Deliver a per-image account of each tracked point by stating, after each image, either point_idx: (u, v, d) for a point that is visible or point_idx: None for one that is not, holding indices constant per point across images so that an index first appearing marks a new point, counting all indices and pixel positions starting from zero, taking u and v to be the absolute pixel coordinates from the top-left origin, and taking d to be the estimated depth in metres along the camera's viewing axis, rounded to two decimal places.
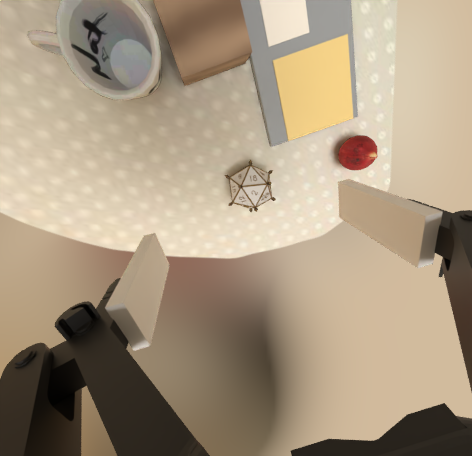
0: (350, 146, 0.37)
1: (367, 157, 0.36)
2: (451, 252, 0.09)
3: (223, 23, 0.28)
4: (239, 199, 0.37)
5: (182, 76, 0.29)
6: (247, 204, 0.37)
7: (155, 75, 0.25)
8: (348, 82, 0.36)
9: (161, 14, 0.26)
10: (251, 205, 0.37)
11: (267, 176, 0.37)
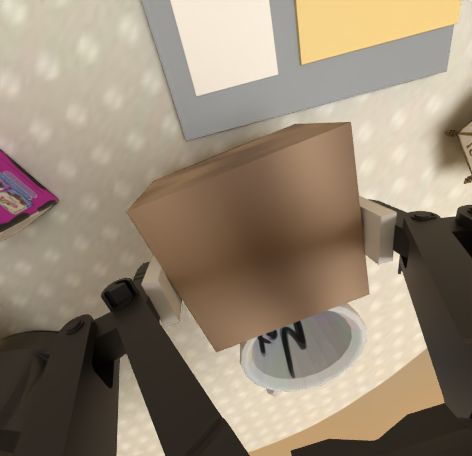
0: None
1: None
2: (407, 250, 0.10)
3: (279, 213, 0.10)
4: None
5: (367, 293, 0.13)
6: None
7: (350, 310, 0.16)
8: None
9: (266, 328, 0.13)
10: None
11: None
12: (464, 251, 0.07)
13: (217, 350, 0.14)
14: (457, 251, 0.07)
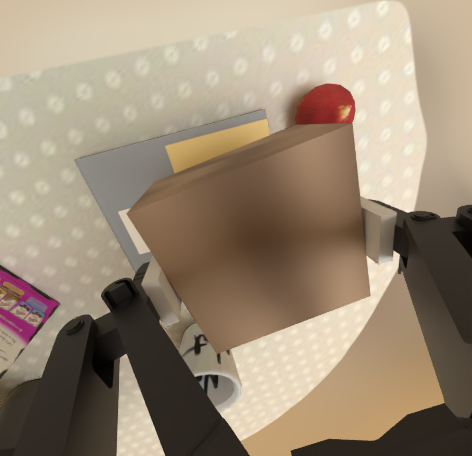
0: None
1: (344, 120, 0.21)
2: (407, 250, 0.10)
3: (280, 214, 0.10)
4: None
5: (368, 294, 0.13)
6: None
7: (225, 373, 0.29)
8: (220, 135, 0.25)
9: (267, 330, 0.13)
10: None
11: None
12: (464, 251, 0.07)
13: (217, 352, 0.13)
14: (457, 251, 0.07)
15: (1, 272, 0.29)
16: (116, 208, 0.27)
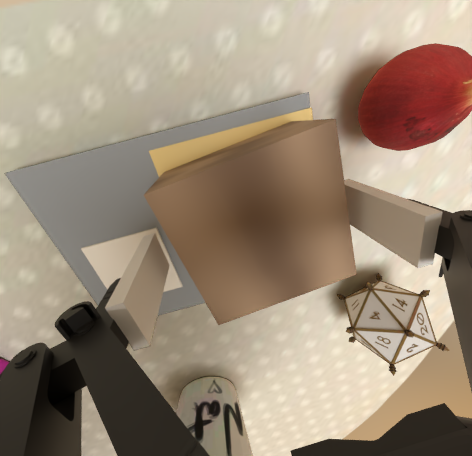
0: (394, 141, 0.14)
1: (469, 108, 0.11)
2: (451, 252, 0.09)
3: (274, 198, 0.12)
4: None
5: (354, 273, 0.15)
6: None
7: None
8: (236, 134, 0.16)
9: (263, 304, 0.15)
10: None
11: (381, 305, 0.21)
12: None
13: (219, 323, 0.15)
14: None
15: None
16: (79, 243, 0.18)
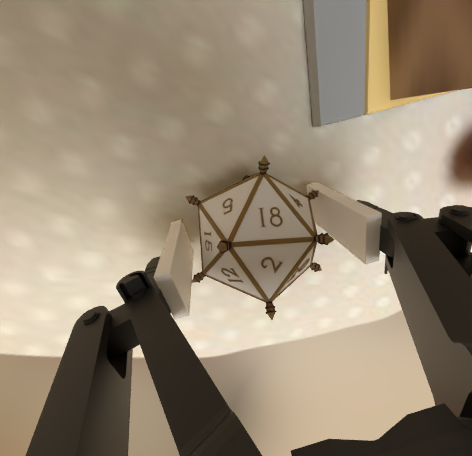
0: None
1: None
2: (392, 251, 0.10)
3: None
4: (222, 273, 0.12)
5: None
6: (245, 290, 0.12)
7: None
8: None
9: None
10: (257, 295, 0.12)
11: (309, 209, 0.13)
12: (447, 250, 0.07)
13: None
14: (440, 251, 0.07)
15: None
16: None
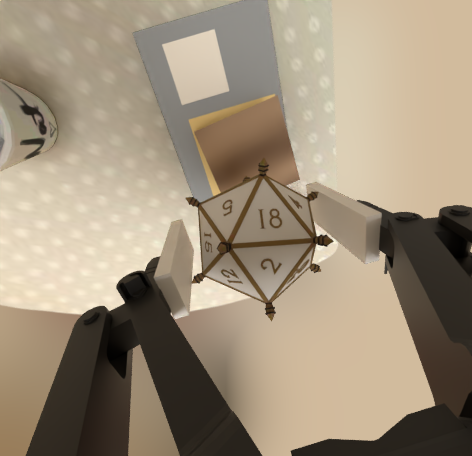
0: None
1: None
2: (392, 250, 0.10)
3: (271, 159, 0.27)
4: (222, 274, 0.12)
5: None
6: (245, 291, 0.12)
7: (10, 152, 0.21)
8: None
9: (209, 160, 0.26)
10: (257, 296, 0.12)
11: (308, 210, 0.13)
12: (446, 250, 0.07)
13: (195, 132, 0.24)
14: (440, 250, 0.07)
15: None
16: (217, 28, 0.26)
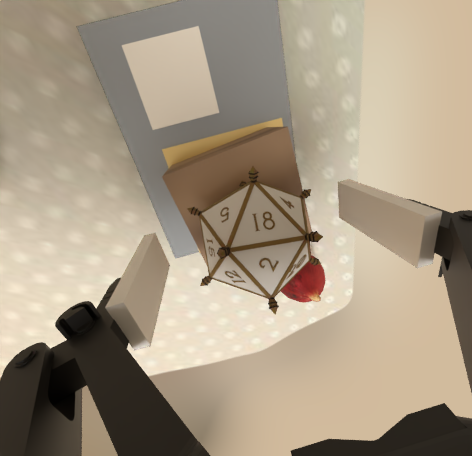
0: None
1: (307, 298, 0.24)
2: (451, 252, 0.09)
3: None
4: (226, 275, 0.13)
5: None
6: (249, 289, 0.13)
7: None
8: None
9: (186, 214, 0.18)
10: (260, 293, 0.13)
11: (301, 208, 0.14)
12: None
13: (163, 177, 0.16)
14: None
15: None
16: (203, 25, 0.18)
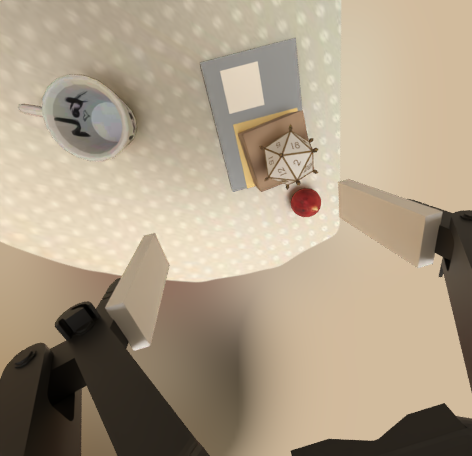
0: (298, 198, 0.43)
1: (310, 209, 0.42)
2: (451, 252, 0.09)
3: None
4: (278, 172, 0.32)
5: (262, 190, 0.39)
6: (287, 177, 0.32)
7: (124, 144, 0.31)
8: None
9: (251, 154, 0.36)
10: (292, 178, 0.31)
11: (309, 144, 0.32)
12: None
13: (243, 134, 0.35)
14: None
15: None
16: (259, 60, 0.36)
